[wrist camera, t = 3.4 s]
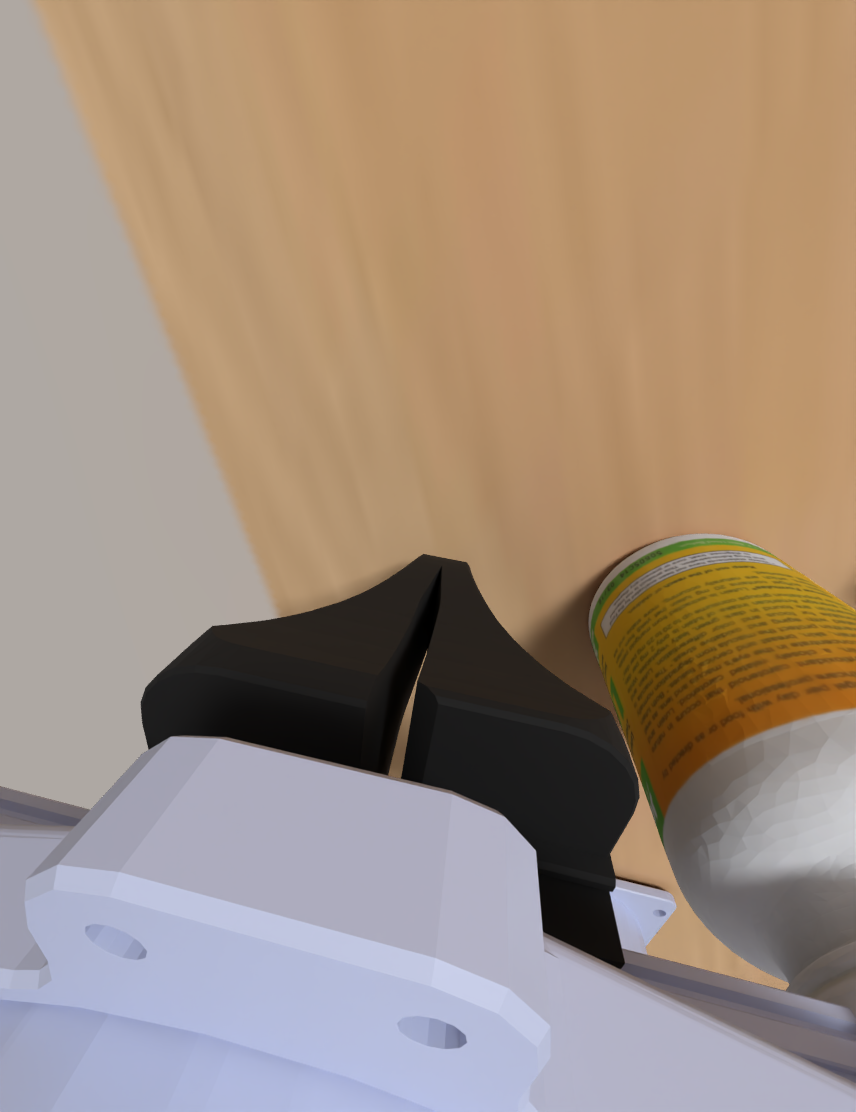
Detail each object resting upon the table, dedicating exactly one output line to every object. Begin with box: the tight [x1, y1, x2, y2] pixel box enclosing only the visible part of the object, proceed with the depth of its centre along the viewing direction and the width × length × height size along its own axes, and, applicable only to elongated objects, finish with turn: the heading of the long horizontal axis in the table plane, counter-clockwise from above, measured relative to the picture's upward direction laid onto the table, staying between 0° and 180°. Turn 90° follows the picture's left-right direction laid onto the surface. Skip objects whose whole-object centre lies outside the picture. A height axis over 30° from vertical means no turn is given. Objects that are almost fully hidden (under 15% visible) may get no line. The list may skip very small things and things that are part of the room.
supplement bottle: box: [589, 534, 856, 1017], centre depth 8 cm, size 5×5×10 cm
